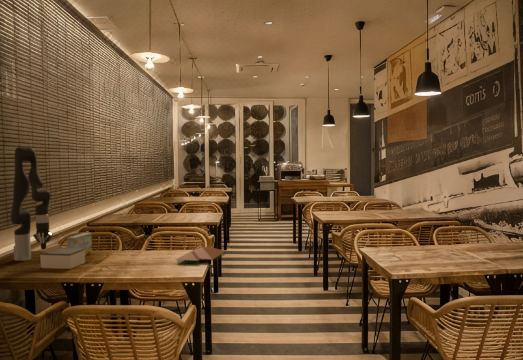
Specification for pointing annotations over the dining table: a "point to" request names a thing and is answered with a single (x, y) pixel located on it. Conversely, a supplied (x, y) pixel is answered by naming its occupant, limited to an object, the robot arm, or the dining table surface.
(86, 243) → the snack box
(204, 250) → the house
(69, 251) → the mailer lid
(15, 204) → the robot arm
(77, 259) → the box
